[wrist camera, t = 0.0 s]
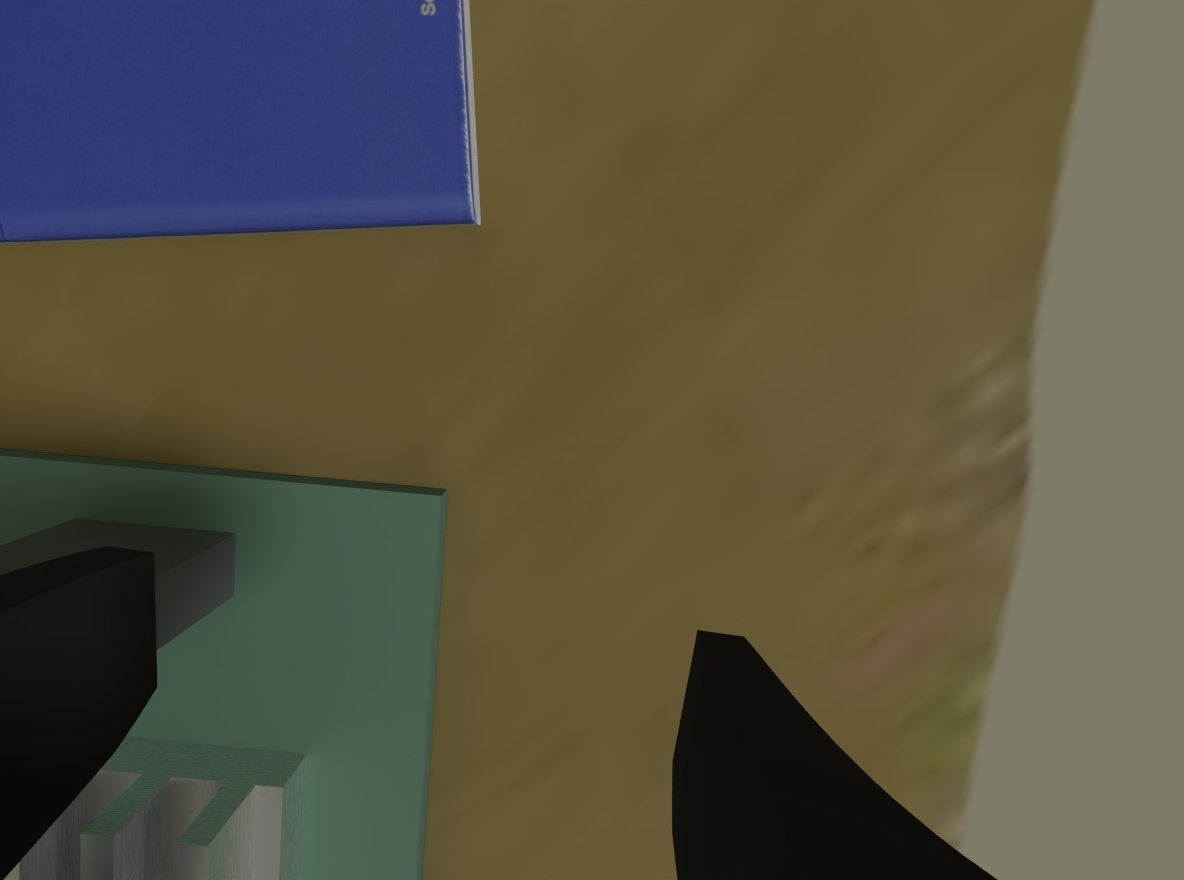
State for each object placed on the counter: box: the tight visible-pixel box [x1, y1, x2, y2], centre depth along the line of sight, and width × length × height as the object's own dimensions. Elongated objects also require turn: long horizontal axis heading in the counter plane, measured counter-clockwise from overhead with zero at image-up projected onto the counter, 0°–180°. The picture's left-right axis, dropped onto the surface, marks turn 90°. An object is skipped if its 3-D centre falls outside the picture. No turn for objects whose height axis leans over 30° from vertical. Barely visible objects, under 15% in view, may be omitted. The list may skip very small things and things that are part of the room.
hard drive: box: [0, 0, 481, 245], centre depth 20 cm, size 2×8×12 cm
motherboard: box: [0, 449, 448, 880], centre depth 23 cm, size 20×14×1 cm
